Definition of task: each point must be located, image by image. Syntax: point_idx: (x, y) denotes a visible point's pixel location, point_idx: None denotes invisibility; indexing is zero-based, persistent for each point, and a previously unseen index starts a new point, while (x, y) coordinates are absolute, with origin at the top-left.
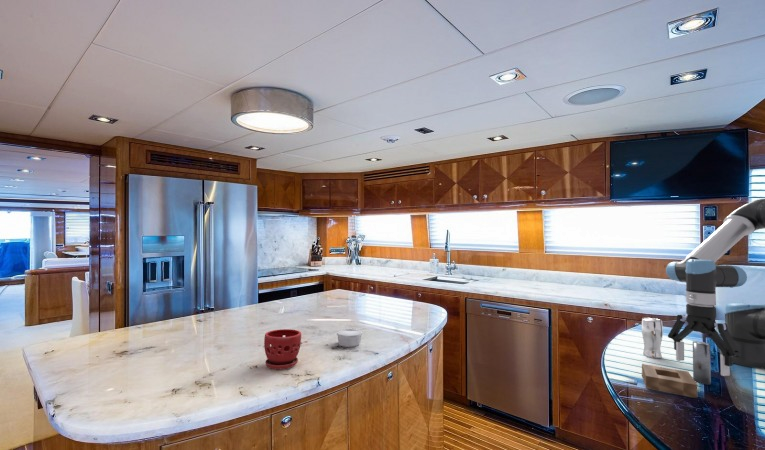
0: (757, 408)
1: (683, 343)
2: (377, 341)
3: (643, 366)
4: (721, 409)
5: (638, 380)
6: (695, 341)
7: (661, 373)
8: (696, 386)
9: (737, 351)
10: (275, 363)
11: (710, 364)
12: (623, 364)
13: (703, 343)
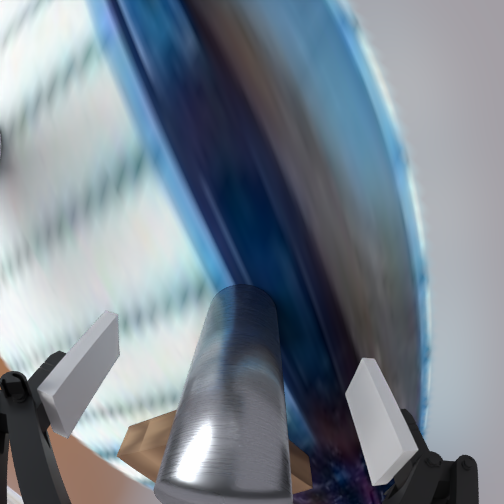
0: (428, 385)
1: (58, 392)
2: (15, 497)
3: (140, 471)
4: (364, 458)
5: None
6: (160, 490)
7: None
8: (310, 484)
9: (468, 480)
10: None
11: (281, 370)
12: None
13: (235, 501)
